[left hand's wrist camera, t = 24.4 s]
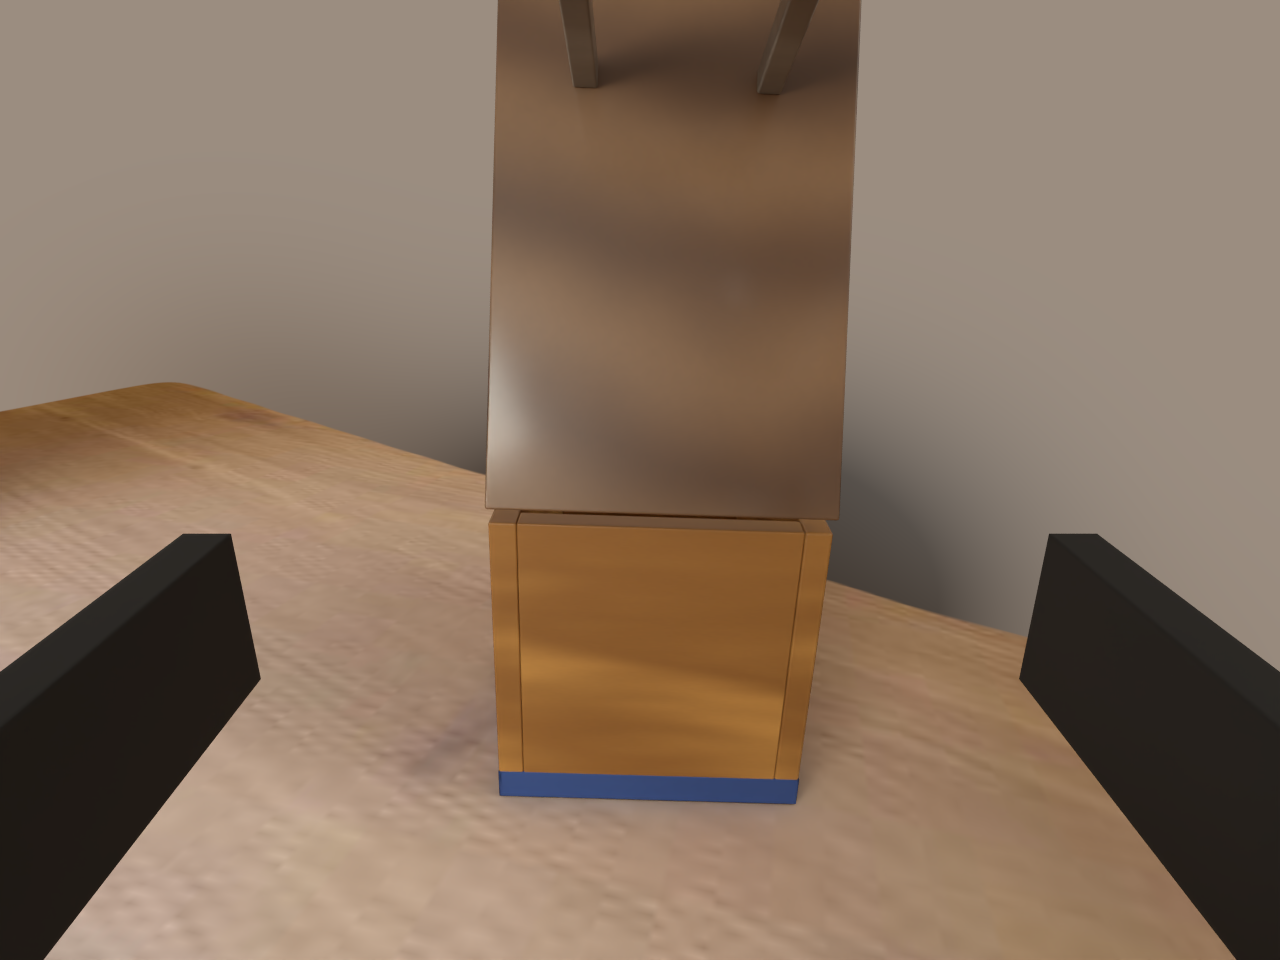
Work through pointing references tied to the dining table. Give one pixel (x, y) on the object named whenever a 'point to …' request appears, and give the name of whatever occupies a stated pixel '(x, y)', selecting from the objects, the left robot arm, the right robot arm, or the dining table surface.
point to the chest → (654, 653)
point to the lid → (671, 256)
